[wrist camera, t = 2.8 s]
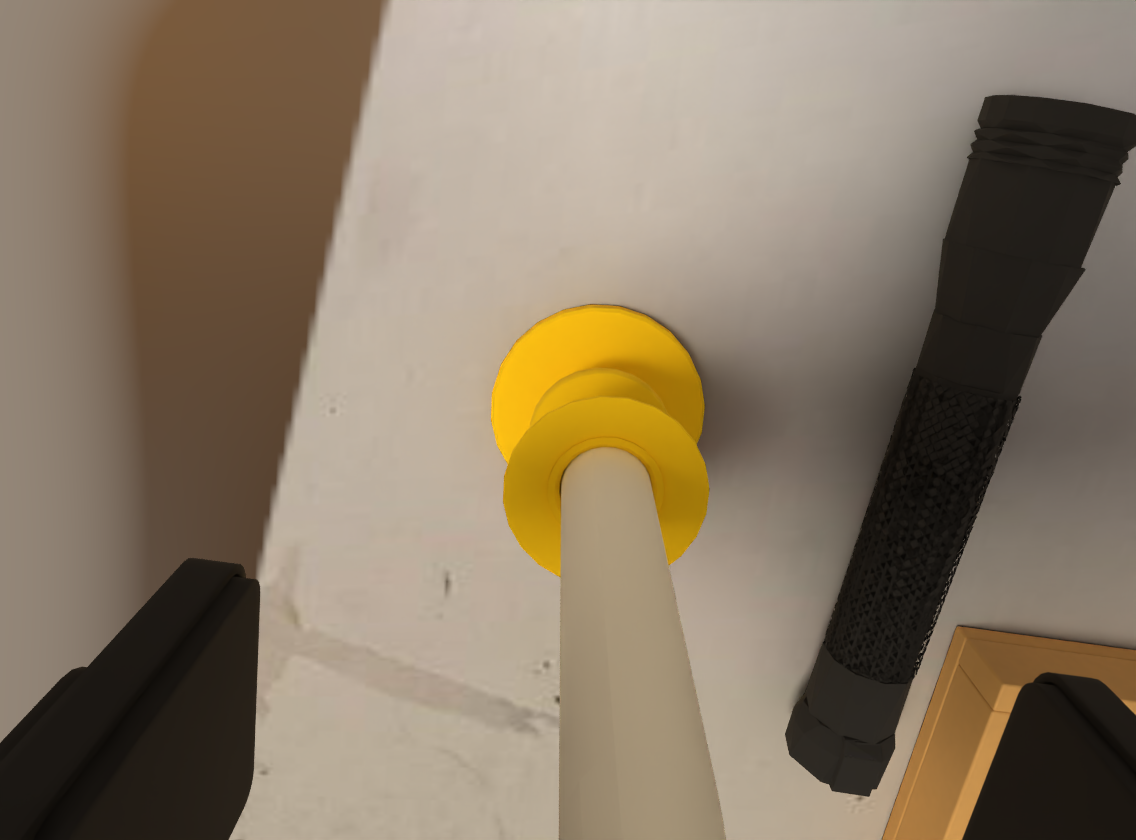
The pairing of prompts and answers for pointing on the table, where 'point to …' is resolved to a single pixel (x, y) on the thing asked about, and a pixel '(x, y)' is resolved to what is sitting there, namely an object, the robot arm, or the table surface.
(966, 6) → the table surface
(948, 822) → the light tray
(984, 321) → the flashlight
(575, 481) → the candle
